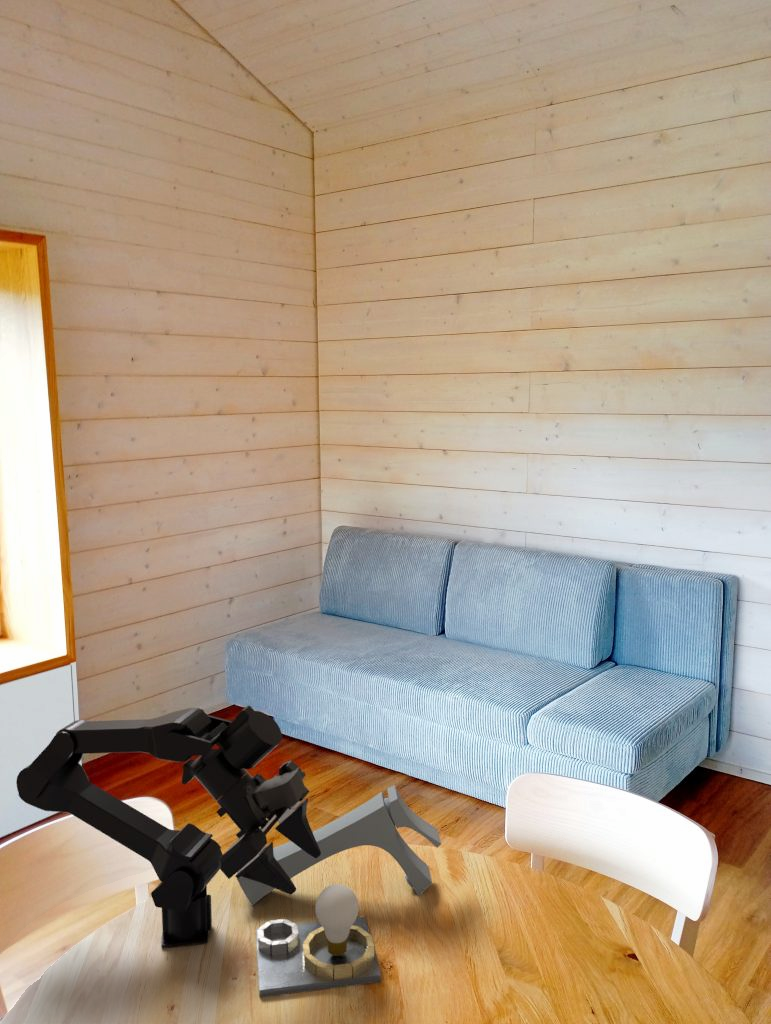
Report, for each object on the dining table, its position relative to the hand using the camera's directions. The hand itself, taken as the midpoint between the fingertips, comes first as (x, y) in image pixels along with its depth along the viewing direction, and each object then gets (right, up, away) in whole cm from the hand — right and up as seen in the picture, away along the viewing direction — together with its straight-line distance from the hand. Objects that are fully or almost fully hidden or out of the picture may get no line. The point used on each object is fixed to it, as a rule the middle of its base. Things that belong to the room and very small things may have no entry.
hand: (306, 873), depth 117 cm
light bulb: (+4, -12, 0) cm, 12 cm away
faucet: (+4, -10, +17) cm, 20 cm away
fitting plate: (+1, -12, +1) cm, 12 cm away
